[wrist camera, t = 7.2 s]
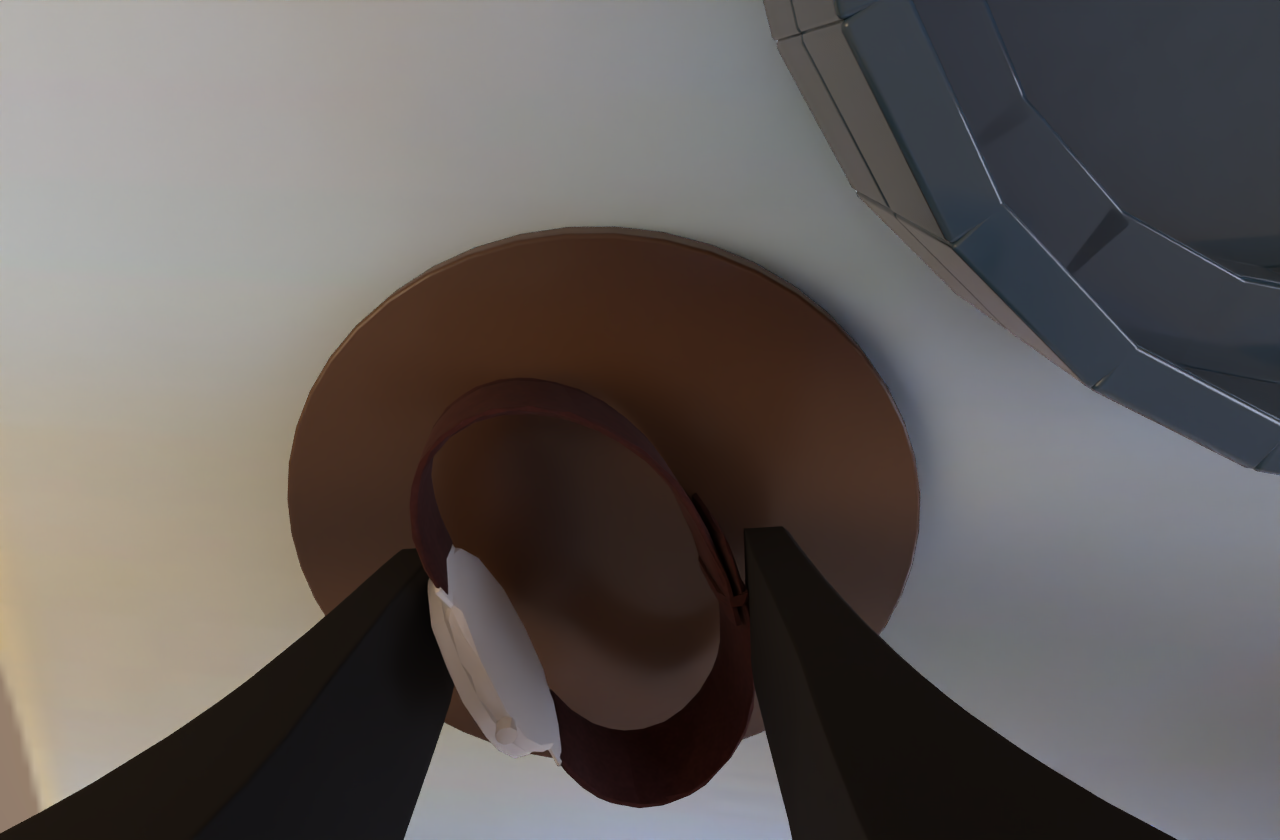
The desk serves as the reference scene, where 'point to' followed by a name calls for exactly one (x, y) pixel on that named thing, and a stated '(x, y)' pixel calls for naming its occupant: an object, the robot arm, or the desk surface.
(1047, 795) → the robot arm
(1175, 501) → the desk surface
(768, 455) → the coaster
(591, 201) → the desk surface
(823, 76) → the bowl
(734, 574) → the watch
